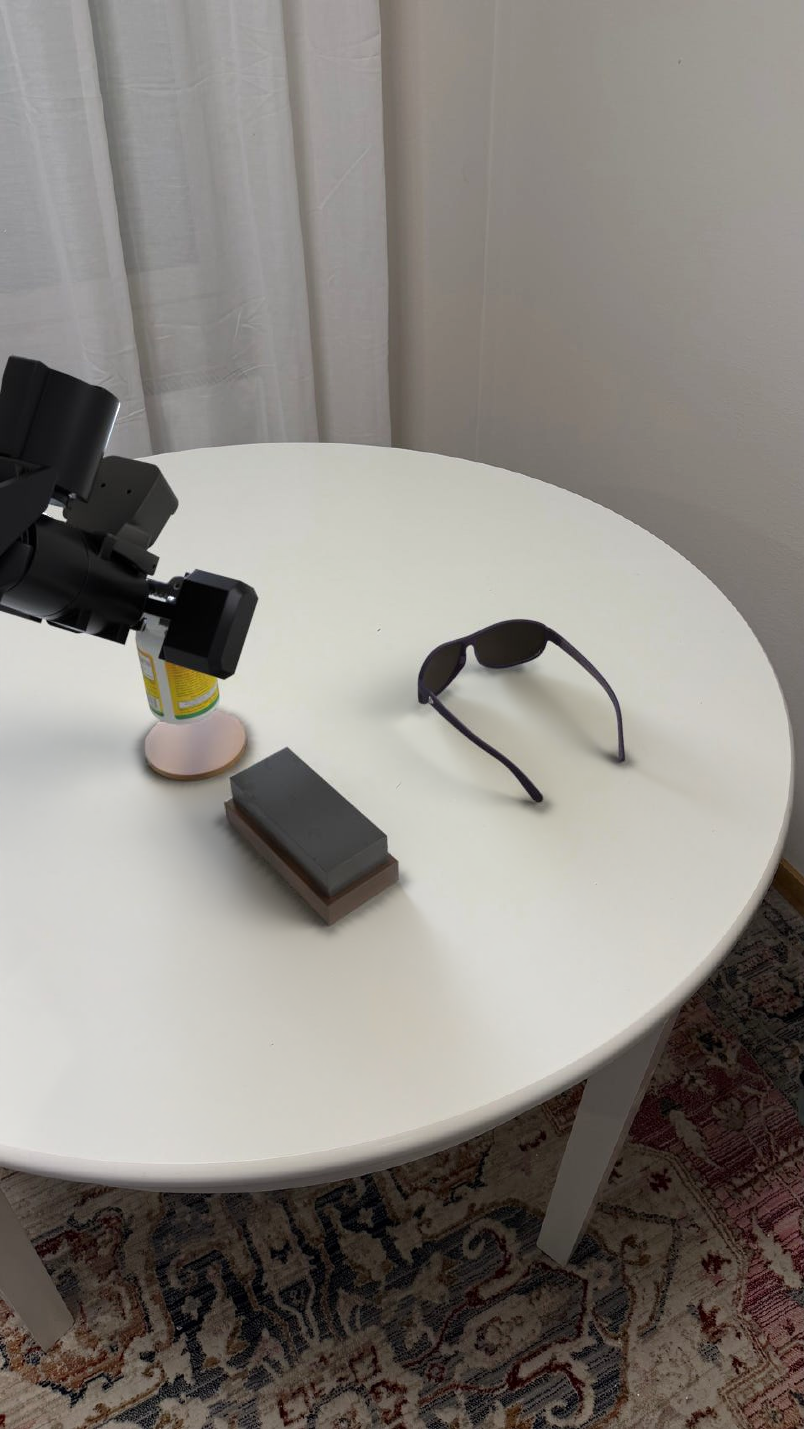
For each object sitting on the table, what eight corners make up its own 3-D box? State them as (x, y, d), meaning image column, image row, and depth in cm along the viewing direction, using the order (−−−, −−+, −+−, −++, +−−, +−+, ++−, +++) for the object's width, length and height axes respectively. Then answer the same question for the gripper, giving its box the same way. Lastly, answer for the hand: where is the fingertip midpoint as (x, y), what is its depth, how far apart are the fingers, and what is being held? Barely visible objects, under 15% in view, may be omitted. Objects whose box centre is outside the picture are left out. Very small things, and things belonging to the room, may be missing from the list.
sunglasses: (526, 649, 89) (530, 602, 86) (653, 748, 79) (663, 700, 76) (398, 705, 84) (397, 657, 80) (517, 819, 74) (521, 770, 70)
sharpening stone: (399, 880, 69) (398, 836, 66) (329, 926, 66) (325, 882, 64) (293, 783, 77) (288, 739, 74) (226, 820, 74) (218, 776, 71)
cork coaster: (156, 792, 76) (155, 786, 76) (136, 727, 82) (135, 722, 81) (258, 764, 78) (257, 758, 78) (232, 703, 84) (231, 697, 84)
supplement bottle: (138, 721, 76) (113, 615, 69) (168, 678, 80) (147, 575, 73) (204, 732, 75) (185, 626, 68) (231, 688, 79) (216, 584, 72)
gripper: (223, 469, 56) (328, 548, 71) (-31, 412, 62) (114, 496, 77) (162, 658, 56) (280, 699, 71) (-87, 582, 62) (70, 634, 77)
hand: (183, 625), depth 74 cm, fingers closed on supplement bottle, 5 cm apart
